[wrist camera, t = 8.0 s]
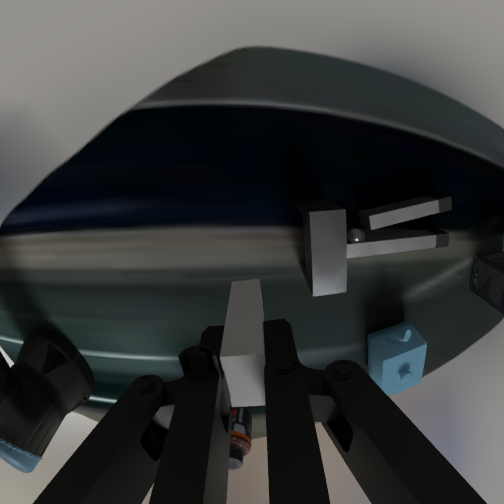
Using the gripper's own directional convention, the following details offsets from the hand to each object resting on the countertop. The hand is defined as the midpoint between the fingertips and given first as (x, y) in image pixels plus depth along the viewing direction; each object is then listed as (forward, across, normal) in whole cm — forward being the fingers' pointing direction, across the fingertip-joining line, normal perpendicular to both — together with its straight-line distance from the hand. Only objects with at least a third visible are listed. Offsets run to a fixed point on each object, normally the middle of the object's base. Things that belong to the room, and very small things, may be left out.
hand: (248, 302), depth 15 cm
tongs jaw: (+14, +17, +2) cm, 22 cm away
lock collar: (+14, +7, 0) cm, 15 cm away
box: (+14, +36, -8) cm, 39 cm away
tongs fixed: (+14, +15, -1) cm, 21 cm away
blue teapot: (+14, +17, -16) cm, 27 cm away
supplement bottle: (+14, -6, -24) cm, 29 cm away
